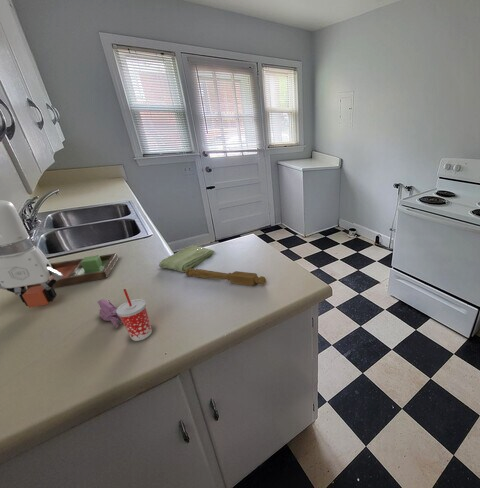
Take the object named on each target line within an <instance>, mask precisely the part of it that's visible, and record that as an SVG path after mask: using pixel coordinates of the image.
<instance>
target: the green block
mask: <svg viewBox="0 0 480 488" xmlns="http://www.w3.org/2000/svg"><path fill="white" fill-rule="evenodd" d="M100 256H101V255H99V254H98V255H90V256H85V257H83V258H84V259H83V258H82V259H83V260H82V261H81V265H82V267H83V269H84V271H85V273H88V272H94V271H100V269H101V268H102V266H103V263H102V261H101V258H100Z"/></svg>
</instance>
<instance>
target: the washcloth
mask: <svg viewBox="0 0 480 488" xmlns="http://www.w3.org/2000/svg"><path fill="white" fill-rule="evenodd" d="M201 248H202V249H201ZM197 249H198V250H197ZM215 252H216V251H215V250H214V249H211V248H206V247H203V246H196V245H195V244H194V245H193V244H192V245H189V246H186V247H184V248H182V249H180V250H179V251H177V252H175V253H174V254H171V255H169V256H167V257H166V258H163V259H162V260H161V261H160V262H159V263H158V267H159V268H162V269H168V270H175V271H178V272H181V273H184V272H186V269H188V268H193V267H196V266H198V265H199V264H201V263H202V262H203V261H205V260H206V259H208V258H209V257H210V256H212V255H213V254H214V253H215Z"/></svg>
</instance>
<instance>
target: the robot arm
mask: <svg viewBox="0 0 480 488" xmlns="http://www.w3.org/2000/svg"><path fill="white" fill-rule="evenodd" d="M0 234H1V236H2V238H1V239H0V290H6V291H7V292H11V293H13V294H14V295H16V296H19V298H20V299H21V301H22V303H24V305H25V306H26V307H28V305H27V303H26V302H25V300H24V298H23V296H22V295H23V294H24V293H25V292H26V291H27V290H28V288H27V286H28V285H34V284H41V286H42V287H43V288H44V289H45V291H44V293H45V295H46V297H47V299H48V301H49V303H52V302H53V301H54V300H55V299H56V298H57V291H56V289H55V288H53V285H54V284H55V283H56V282H57V281H58V280H59V279H60V278H61V277H62V276H63V274H61V273H60V272H58V271H56V270H54V269H53V268H52V266H51V265H50V264H51V263H50V261H49V259H48V257H47V256H46V255H45V254H44V252H43V251H42V250H41V249H40V248H39V247H38V246H37V245H34V243H33V241H32V239H31V237H30V235H29V233H28V231H27V229H26V227H25V225H24V223H23V220H22V218H21V217H20V214H19V213H18V210H17V209H16V206H15V205H14V204H13V203H12V202H11V201H9V200H5V199H4V200H3V199H0ZM50 276H53V277H54V278H53V279H52V280H51V279H50Z"/></svg>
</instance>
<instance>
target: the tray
mask: <svg viewBox="0 0 480 488" xmlns="http://www.w3.org/2000/svg"><path fill="white" fill-rule="evenodd" d="M99 256H100V258H101V261H102V263H103V266H102V268H101V269H100V271H94V272H88V273H85V271H84V269H83V267H82V265H81V261H82V260H83V259H84V258H85V257H82V258H76V259H71V260H65V261H58V262H51V263H50V265H51V266H52V268H53V269H54V270H56V271H58V272H60V273H61V274H63V276H62V277H61V278H60V279H59V280H58V281H57V282H56V283H55V284H54V285H53V288H54V289H55V288H60V287H66V286H70V285H76V284H81V283H87V282H88V283H89V282H93V281H97V280H104V279H108V278H109V276H110V274H111V272H112V271H113V268H114V267H115V266H116V264H117V262H118V260H119V257H118V253H116V252H115V253H114V252H113V253H109V254H102V255H99ZM53 278H54V277H53V276H50V279H51V280H52V279H53ZM35 286H41V284H34V285H28V286H26V289H29V288H30V287H35Z"/></svg>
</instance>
